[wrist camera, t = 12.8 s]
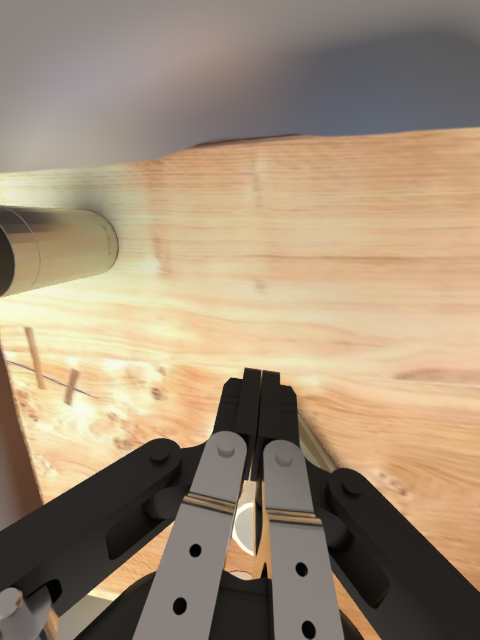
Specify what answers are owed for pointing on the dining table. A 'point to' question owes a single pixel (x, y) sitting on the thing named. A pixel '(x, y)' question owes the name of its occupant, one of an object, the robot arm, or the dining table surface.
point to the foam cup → (245, 518)
